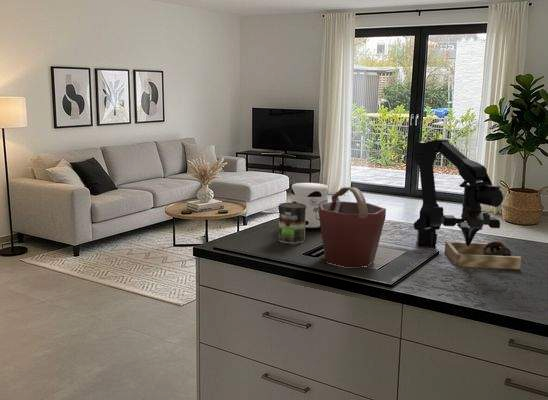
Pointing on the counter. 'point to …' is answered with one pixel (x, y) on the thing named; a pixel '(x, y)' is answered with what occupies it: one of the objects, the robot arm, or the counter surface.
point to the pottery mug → (497, 249)
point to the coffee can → (292, 222)
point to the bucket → (350, 229)
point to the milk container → (310, 201)
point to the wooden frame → (478, 256)
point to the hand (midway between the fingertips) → (467, 245)
